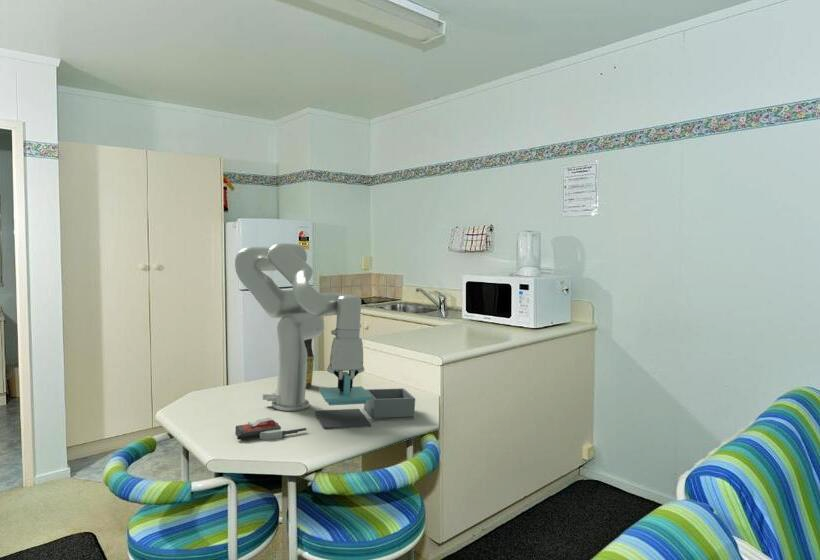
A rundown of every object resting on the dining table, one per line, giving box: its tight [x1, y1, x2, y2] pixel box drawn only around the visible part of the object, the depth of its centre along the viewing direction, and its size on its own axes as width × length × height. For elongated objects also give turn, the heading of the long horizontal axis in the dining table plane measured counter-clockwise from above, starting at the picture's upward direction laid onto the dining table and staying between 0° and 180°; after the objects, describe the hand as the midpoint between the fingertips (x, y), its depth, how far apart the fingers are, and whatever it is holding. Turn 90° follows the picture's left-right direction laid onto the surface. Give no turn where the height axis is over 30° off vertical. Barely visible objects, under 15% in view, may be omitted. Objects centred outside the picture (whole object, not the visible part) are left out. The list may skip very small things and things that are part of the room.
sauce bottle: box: [304, 339, 315, 388], centre depth 208 cm, size 6×6×20 cm
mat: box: [314, 408, 372, 430], centre depth 173 cm, size 15×16×1 cm
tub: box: [363, 387, 416, 422], centre depth 182 cm, size 14×12×7 cm
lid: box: [318, 371, 372, 406], centre depth 173 cm, size 14×12×8 cm
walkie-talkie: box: [235, 417, 307, 442], centre depth 156 cm, size 9×4×20 cm
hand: (344, 390), depth 173 cm, fingers closed on lid
